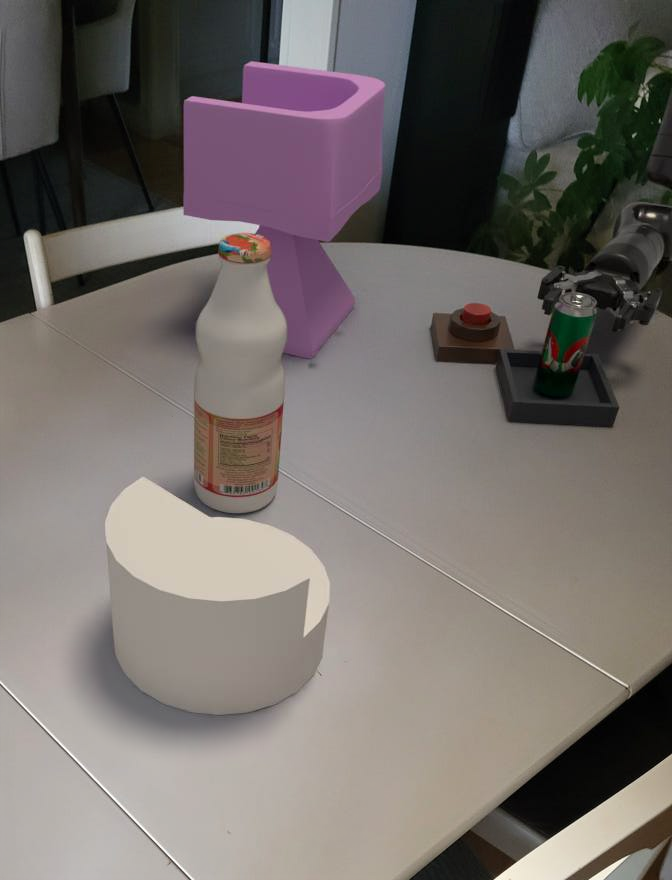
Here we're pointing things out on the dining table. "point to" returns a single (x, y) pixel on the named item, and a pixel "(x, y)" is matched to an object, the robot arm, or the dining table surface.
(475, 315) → the button
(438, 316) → the block
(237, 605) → the notched white cylinder
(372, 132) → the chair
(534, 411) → the tray
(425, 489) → the dining table surface
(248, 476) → the fruit juice
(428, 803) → the dining table surface
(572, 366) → the soda can
